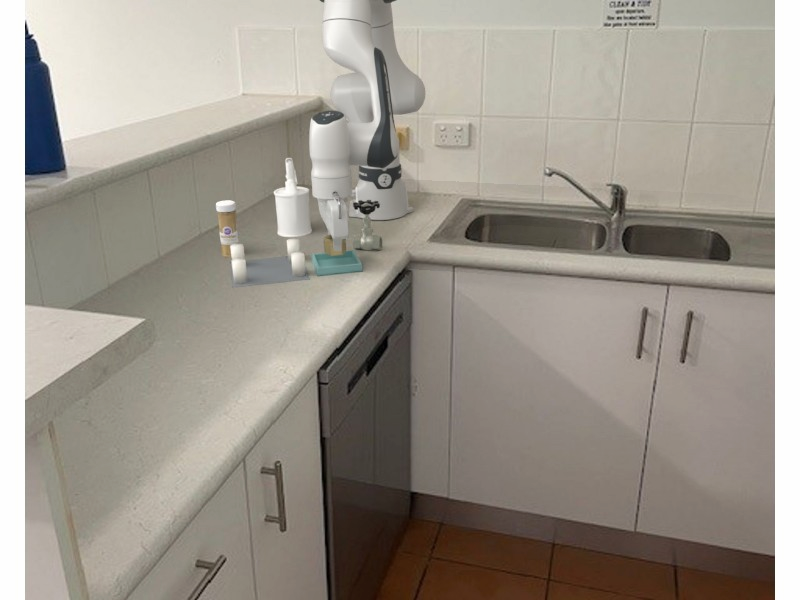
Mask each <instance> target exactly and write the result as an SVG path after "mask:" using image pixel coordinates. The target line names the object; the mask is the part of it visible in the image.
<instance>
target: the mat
mask: <svg viewBox="0 0 800 600" xmlns="http://www.w3.org/2000/svg"><path fill="white" fill-rule="evenodd" d="M245 260H246V269H247V278H248V282H247V283H244V284H235V283H234V278H233V269H232V261H229V265H230V278H231V287H232V288H233V289H234V288H241V287H242V288H243V287H253V286H261V285H269V284H280V283H288V282H289V283H290V282H298V281H300V282H301V281H307V280H308V281H310V280H311V278H310V276H309V275H310V274H309V272H308V269H307V267H306V265H305V268H306V275H305V276H303V277H294V276H293V273H292V262H289V261H288V255H286V256H285V255H284V256H275V257H265V258H255V259H245Z"/></svg>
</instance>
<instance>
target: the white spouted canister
mask: <svg viewBox="0 0 800 600" xmlns="http://www.w3.org/2000/svg"><path fill="white" fill-rule="evenodd" d="M284 163H285V171H286V173H285V175H284V177H285V179H286V180H285V182H284V183H285V186H284V187H280V188H277V189H275V190H274V191H273V195H274V197H275V198H274V199H275V201H274V202H275V209H276V220H277V221H276V222H277V232H276V233H277V235H278V236H279V237H283V238H284V237H285V238H299V237H300V238H301V237H304V236H305V237H306V236H308V235H310V234H312V233H313V228H312V226H311V225H312V223H311V213H310V212H311V210H310V195H309V194H310V189H309V188H308V187H305V186H297V185H298V184H299V182H298V179H297V178H298V175H297V174H296V173H297V171H296V169H295V167H294V166H295V165H294V160H293V158H292V157H286V158H285V162H284Z"/></svg>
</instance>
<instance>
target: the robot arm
mask: <svg viewBox="0 0 800 600" xmlns="http://www.w3.org/2000/svg"><path fill="white" fill-rule="evenodd" d="M319 1H320V2H321V3H323V9H322V19H321V20H322V21H321V42H322V47H323V50H324V52H325V53H326V55H327V56H328V57H329V59H331V61H333V62H334V63H336V64H337V65H339V66H341V67H343V68H345V69H348V70H350V71H353V72H349V73H346V74H340V75H338V76H337V77H336V78H335V79H334V81H333V82H332V83H331V87H330V98H331V99H330V100H331V102H332V105H333V106H334V108H335V110H324V111H321V112H317V113H315V114H314V115H313V116H311V119H310V123H309V131H308V132H309V134H308V135H309V136H308V141H309V142H308V144H309V145H308V149H309V158H310V159H311V163H312V166H311V167H312V168H311V173H310V178H311V179H310V180H311V191H312V194H311V195H312V197H313V198H315V199H317V203H318V211H319V213H320V214H319V215H320V217H321V219H322V221H323V222H324V224H325V226H326V230H327V235H331V236H332V238H333V249H334V251H335V252H337V251H341V250H342V245H341V243H342V239H346V240H347V239H348V238H349V237H350V236H349V235H350V228H349V227H350V226H349V218H360V219H363V218H364V217H365V214H363V213H361V212H360V210H359V208H358V210H355V209H354V207H353V203H354V202H357V203H358V201H359V200H362V201H367V200H371V202H374V201H378V203H379V204H380V208H377V206H376V209H375V211H374V212H371V214H369V217H370V218H371V220H373V221H384V220H385V221H388V220H394V219H399V218H402V217H405V216H406V215H407V214H410V213H412V212H414V207H413V206H411V205H409V200H408V186H407V183H406V182H405V181H404V180H403V179H402V171H403V170H402V164H401V163H400V160H401V159H400V139H399V136H398V134H397V131H396V126H395V120H394V119H395V118H394V116H398V115H400V116H401V115H407V114H412V113H417V112H418V111H419V110H421V108H422V106H423V105H424V102H425V99H426V87H425V84H424V82H423V81H422V79H421V77H419V75H417V74H416V73H414V72H413V71H412V70H410V69H409V68H408V66H407V65H406V64H405V62H404V61H403V60H402V59H401V57H400V55H399V52H398V49H397V45H396V39H395V38H396V37H395V31H394V18H393V8H392V3H393V2H397V0H319ZM347 120H348V121H347ZM350 166H358V178H359V179H358V181H357V183H356V186H355V188H354V189H353V187H352V186H353V185H352V181H353V180H352V171H351V170H352V169H351V168H350ZM349 197H350V198H354V199H350V200H349V211H348V207H347V204H346V203H347V202H348V200H347V198H349Z"/></svg>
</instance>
